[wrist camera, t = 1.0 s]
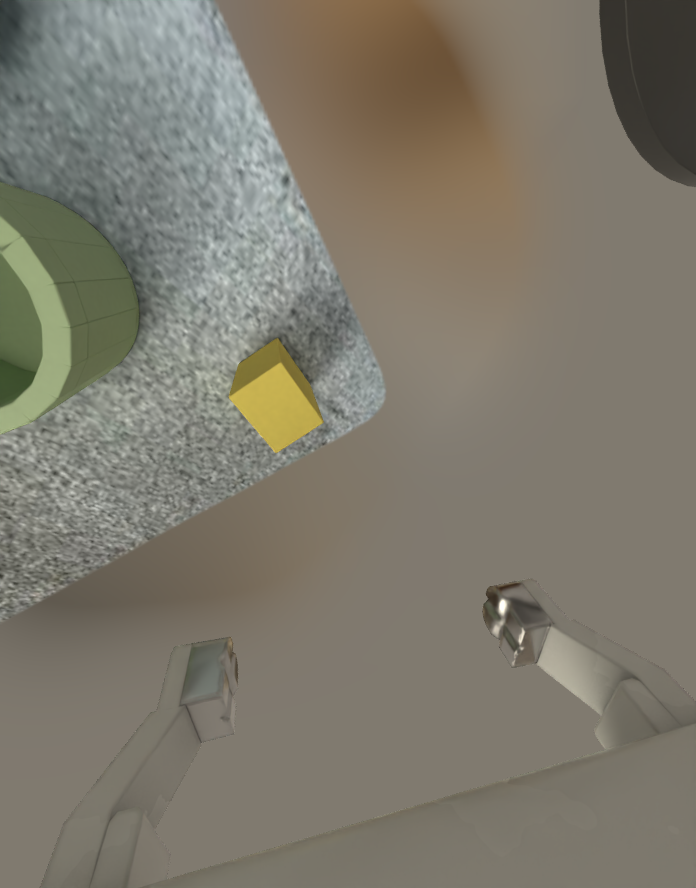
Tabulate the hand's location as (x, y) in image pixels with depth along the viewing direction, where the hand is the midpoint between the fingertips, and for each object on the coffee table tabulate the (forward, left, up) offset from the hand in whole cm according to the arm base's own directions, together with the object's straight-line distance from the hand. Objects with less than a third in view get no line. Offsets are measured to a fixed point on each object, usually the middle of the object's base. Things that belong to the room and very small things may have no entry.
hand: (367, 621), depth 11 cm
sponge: (+2, -3, -18) cm, 18 cm away
